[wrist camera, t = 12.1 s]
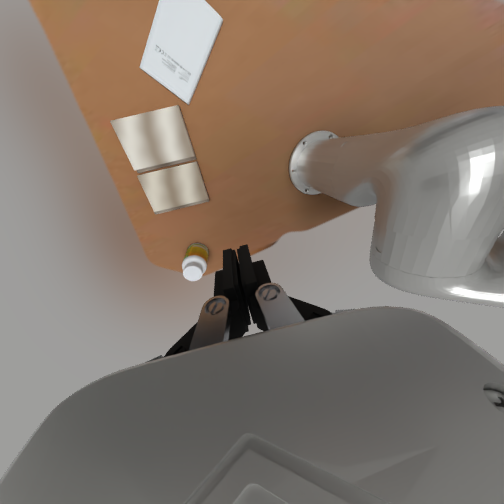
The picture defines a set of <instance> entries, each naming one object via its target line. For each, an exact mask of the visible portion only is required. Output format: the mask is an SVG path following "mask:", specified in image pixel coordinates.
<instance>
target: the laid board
mask: <svg viewBox="0 0 504 504" xmlns="http://www.w3.org/2000/svg"><path fill="white" fill-rule="evenodd" d="M110 122H111V124H112V126H113V128H114V130H115V132H116V134H117V136H118V138H119V140H120V142H121V144H122V146H123V148H124V150H125V152H126V154H127V156H128V158H129V160H130V162H131V164H132V166H133V168H134V170H137V172H138V173H141V172H145V171H150V170H154V169H158V168H162V167H166V166H171V165H175V164H179V163H183V162H187V161H192V160H196V156H195V153H194V150H193V147H192V144H191V141H190V138H189V135H188V131H187V128H186V125H185V122H184V119H183V116H182V113H181V110H180V107H179V106H178V105H177V106H172V107H168V108H164V109H159V110H155V111H151V112H146V113H142V114H138V115H133V116H129V117H125V118H121V119H116V120H112V121H110Z"/></svg>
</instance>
